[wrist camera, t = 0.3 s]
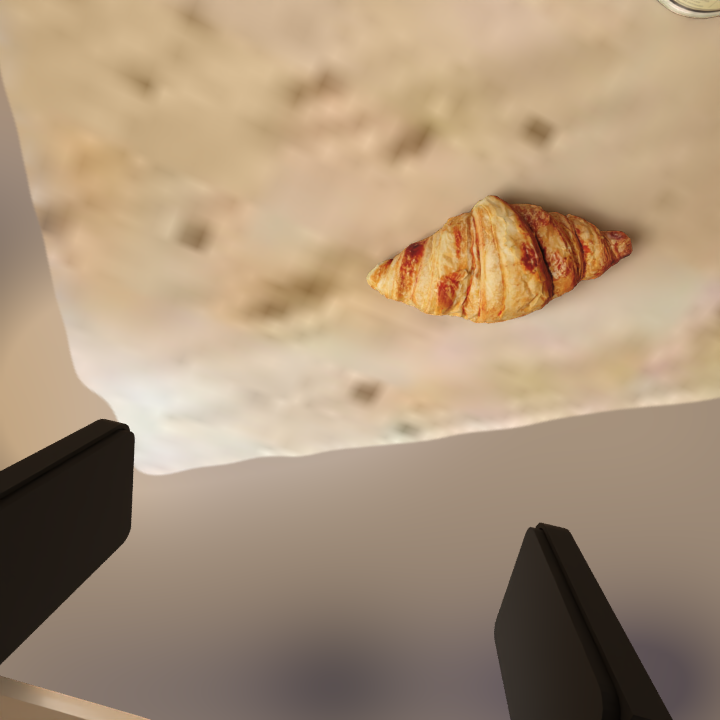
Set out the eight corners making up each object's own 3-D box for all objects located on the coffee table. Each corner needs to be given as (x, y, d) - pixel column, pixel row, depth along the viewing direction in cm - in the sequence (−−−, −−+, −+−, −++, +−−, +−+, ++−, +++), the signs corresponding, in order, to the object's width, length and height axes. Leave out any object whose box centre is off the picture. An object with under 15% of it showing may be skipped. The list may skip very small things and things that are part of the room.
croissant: (378, 306, 43) (375, 358, 37) (356, 211, 36) (349, 255, 30) (602, 273, 39) (640, 325, 33) (624, 160, 32) (675, 200, 26)
